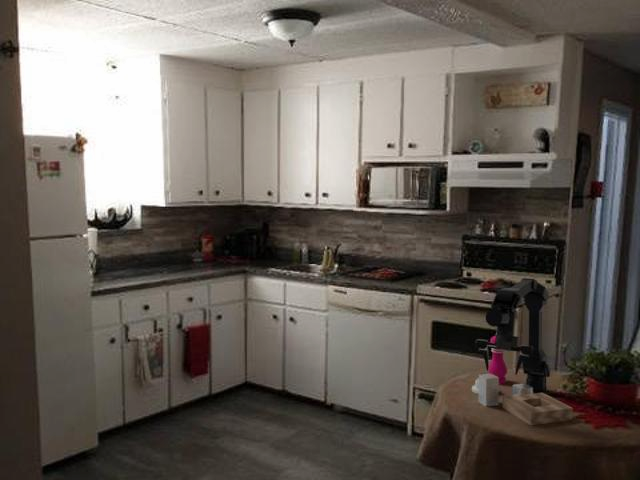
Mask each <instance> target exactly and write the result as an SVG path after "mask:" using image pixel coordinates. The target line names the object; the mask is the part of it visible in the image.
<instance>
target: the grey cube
mask: <svg viewBox="0 0 640 480" xmlns="http://www.w3.org/2000/svg"><path fill="white" fill-rule="evenodd" d="M511 390H512V392H511V393H512V396H518V395H527V394H534V393H533V388H532V387H530V386H528V385H526V383H517V384H516V383H515V384H512V389H511Z"/></svg>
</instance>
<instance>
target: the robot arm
mask: <svg viewBox="0 0 640 480" xmlns="http://www.w3.org/2000/svg"><path fill="white" fill-rule="evenodd" d="M522 298H523V302H524V305H525V307H526V309H527V310H528V344H520V345H518V344H519V336H515V324H516V315H517V314H518V311H517V310H518V307H519V306H520V304H521V302H522ZM548 300H549V291H548V290H547V288H546V287H545V286H544V285H542V284H541V283H539V282H538V280H537V279H535V278H531V277H529V278H526V277H524V278H521V280H520V281H518V282H517V283H515V284H514V285H513V286H511V287H504V288H499V289H498V290H497V292H496V293H495V296H494V297H493V300H492V303H491V305H490V308H491V309H489V310H488V311H487V313H486V314H485V321H486V323H487V324H488V325H489V326H491V327H495V328H496V333H495V336H496V337H495V343H490V342H489V339H479V338H477V339H476V340H475V342H474V343H475V344H474V348H475V349H478V352H481V353H482V356H483V359H484V363H485V367H486V371H487V372H488V368H489V365H490V363H489V349H491V348H494V349H499V350H500V349H502V350H504V351H507V352H518V353H519V354H518V358H517V363H516V367H515V376H517V375H518V372H519V370H520V367H521V366H522V370H523V371H522V372H523V374H525V375H527V377H526V379H525V380H526V381H525V384H526V385H528V386H530V387H532V388H533V394H535V393H548V392H549V391H550V390H549V389H547V378H549V377H551V367H550V365H549V363H548V360H547V355H546V353H545V351H544V349H543V311H544V309H545V307H546V306H547V304H548Z"/></svg>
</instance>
